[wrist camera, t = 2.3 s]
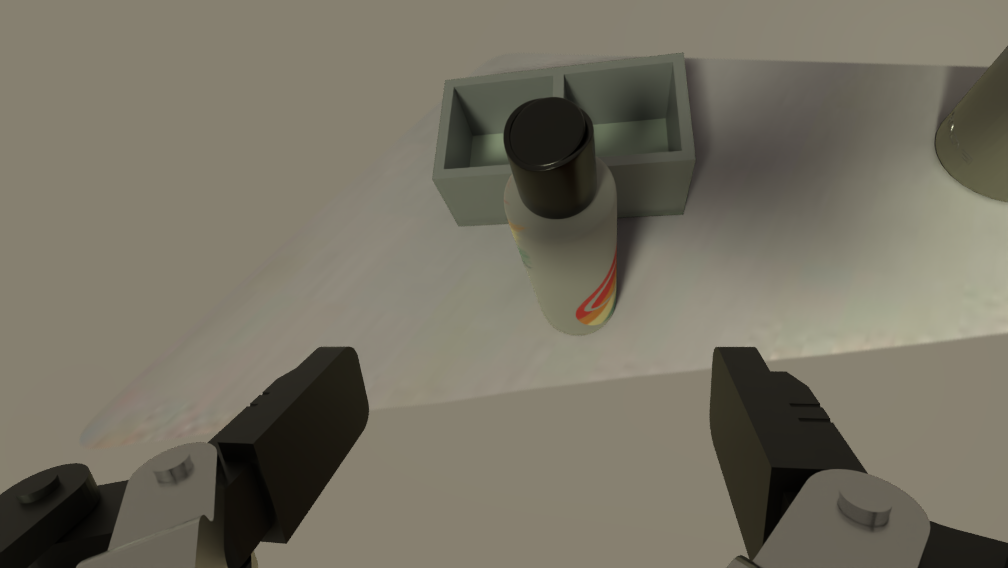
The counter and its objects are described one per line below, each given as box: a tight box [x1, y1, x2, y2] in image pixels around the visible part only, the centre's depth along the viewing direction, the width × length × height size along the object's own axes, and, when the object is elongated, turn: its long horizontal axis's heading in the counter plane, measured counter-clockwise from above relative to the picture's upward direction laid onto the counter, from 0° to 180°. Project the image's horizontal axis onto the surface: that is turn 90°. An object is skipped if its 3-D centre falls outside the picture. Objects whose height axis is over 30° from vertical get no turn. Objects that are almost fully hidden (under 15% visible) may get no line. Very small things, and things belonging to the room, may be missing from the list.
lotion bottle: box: [503, 97, 617, 335], centre depth 29 cm, size 6×6×20 cm
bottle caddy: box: [432, 53, 696, 226], centre depth 40 cm, size 18×10×7 cm, turn 87°
